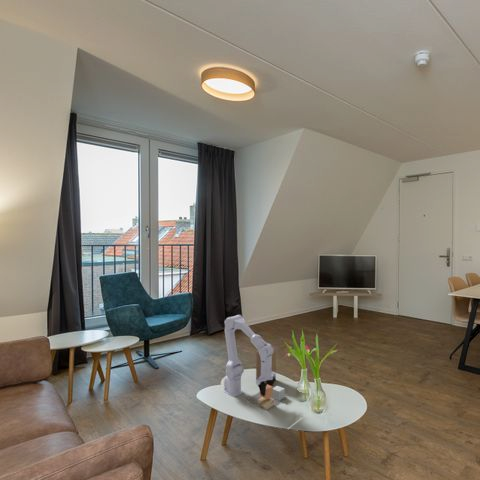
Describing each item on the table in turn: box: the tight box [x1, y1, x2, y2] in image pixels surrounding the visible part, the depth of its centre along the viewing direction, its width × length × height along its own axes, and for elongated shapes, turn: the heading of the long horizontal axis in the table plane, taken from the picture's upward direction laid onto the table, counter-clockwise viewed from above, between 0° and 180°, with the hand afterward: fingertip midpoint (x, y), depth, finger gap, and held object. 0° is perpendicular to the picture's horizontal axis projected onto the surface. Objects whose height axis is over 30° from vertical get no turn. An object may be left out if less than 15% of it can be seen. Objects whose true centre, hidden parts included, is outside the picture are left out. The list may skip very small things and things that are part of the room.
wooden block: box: [255, 348, 277, 384], centre depth 198 cm, size 10×10×20 cm
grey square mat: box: [245, 391, 289, 412], centre depth 177 cm, size 16×18×1 cm
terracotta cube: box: [260, 384, 274, 399], centre depth 170 cm, size 5×5×5 cm
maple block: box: [258, 397, 274, 410], centre depth 171 cm, size 6×6×3 cm
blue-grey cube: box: [272, 385, 285, 400], centre depth 179 cm, size 5×5×5 cm
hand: (266, 393), depth 171 cm, fingers closed on terracotta cube, 5 cm apart
